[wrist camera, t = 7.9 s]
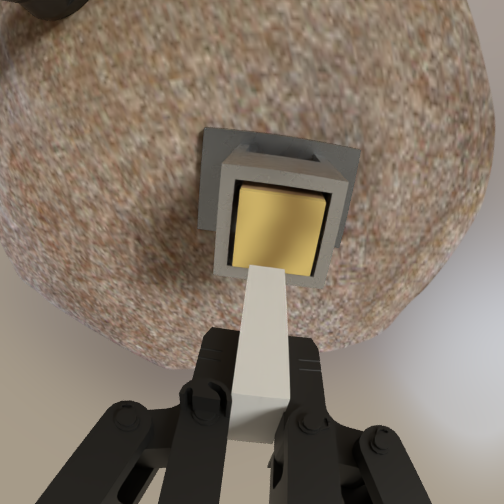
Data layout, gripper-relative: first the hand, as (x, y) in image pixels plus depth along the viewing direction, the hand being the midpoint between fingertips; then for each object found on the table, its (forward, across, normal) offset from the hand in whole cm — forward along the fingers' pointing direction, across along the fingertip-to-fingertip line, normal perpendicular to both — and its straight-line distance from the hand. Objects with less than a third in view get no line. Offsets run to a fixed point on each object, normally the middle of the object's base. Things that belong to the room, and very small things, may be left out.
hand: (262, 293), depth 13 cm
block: (+27, +1, -3) cm, 27 cm away
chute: (+29, +1, -3) cm, 29 cm away
